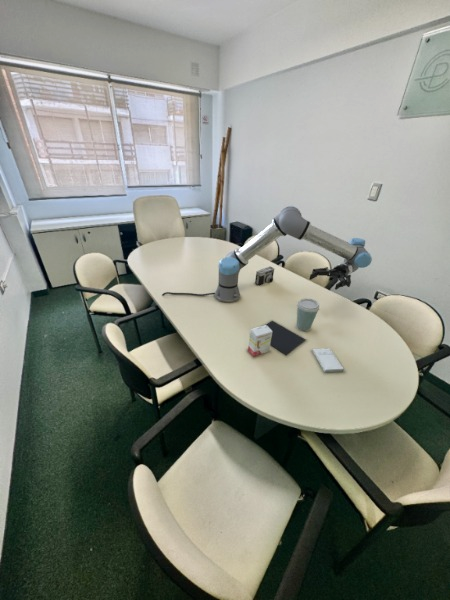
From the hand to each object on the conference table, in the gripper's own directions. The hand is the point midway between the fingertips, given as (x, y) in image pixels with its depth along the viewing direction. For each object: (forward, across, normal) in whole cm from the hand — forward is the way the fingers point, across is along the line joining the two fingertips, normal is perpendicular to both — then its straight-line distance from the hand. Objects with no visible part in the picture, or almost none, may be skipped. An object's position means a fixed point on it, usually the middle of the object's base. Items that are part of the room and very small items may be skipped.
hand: (322, 282), depth 119 cm
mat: (+26, +4, -23) cm, 35 cm away
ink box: (+41, +4, -23) cm, 47 cm away
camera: (-15, +44, -23) cm, 52 cm away
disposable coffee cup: (+10, 0, -23) cm, 25 cm away
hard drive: (+23, -20, -23) cm, 38 cm away
